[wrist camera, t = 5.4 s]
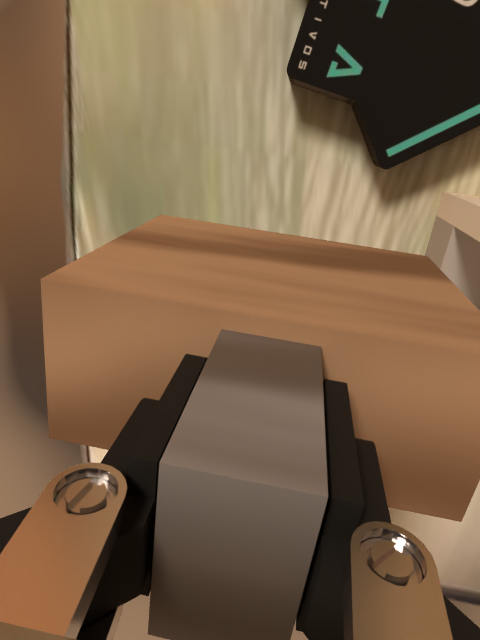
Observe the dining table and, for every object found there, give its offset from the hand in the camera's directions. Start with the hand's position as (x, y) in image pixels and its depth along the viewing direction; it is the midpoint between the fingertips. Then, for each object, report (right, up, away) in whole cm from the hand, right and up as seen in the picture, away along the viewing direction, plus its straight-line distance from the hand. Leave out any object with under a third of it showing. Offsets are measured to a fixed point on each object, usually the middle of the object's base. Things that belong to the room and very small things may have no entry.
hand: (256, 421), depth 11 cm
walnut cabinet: (+2, +4, +10) cm, 11 cm away
